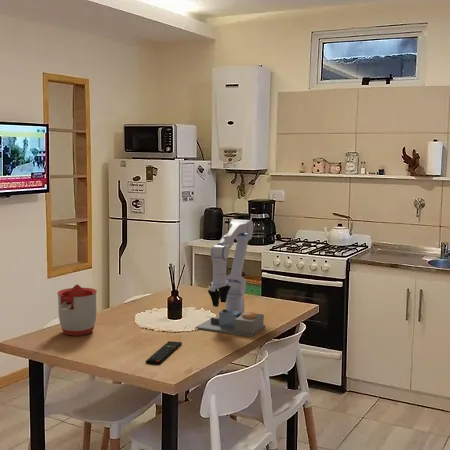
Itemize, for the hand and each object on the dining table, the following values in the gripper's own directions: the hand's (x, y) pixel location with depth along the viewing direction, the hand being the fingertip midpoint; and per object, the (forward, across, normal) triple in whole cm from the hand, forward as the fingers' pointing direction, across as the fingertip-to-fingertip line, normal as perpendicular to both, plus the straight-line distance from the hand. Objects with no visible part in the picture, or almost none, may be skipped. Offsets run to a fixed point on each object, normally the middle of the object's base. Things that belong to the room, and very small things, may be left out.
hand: (219, 304), depth 267 cm
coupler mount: (+9, +3, +7) cm, 11 cm away
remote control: (+9, +44, -2) cm, 45 cm away
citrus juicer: (+9, +37, -47) cm, 60 cm away
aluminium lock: (+8, +3, +6) cm, 10 cm away
